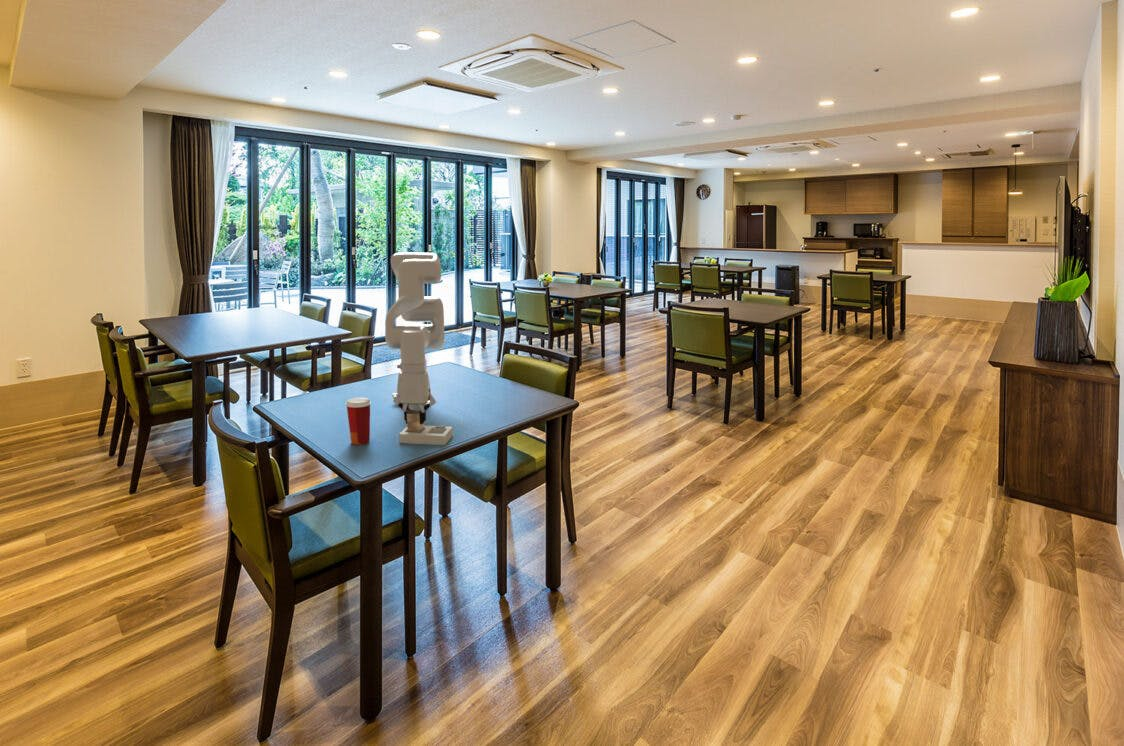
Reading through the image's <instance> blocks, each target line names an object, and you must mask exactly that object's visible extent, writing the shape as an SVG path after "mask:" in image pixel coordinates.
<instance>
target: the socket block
mask: <svg viewBox="0 0 1124 746" xmlns="http://www.w3.org/2000/svg"><path fill="white" fill-rule="evenodd" d="M453 436H454V427H453V426H446V425H439V424H438V425H425V424H423V429H422V430H421V431H420V432H410V431H408V430H407V426H406V427H405V428H404V429H403V430H402V431H400V432H399V433H398V443H399V444H410V445H411V444H414V445H415V444H416V445H434V446H445V445H446V444H448V442H449V441H450V439H451V438H452V437H453Z"/></svg>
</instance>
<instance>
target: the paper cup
mask: <svg viewBox="0 0 1124 746" xmlns="http://www.w3.org/2000/svg"><path fill="white" fill-rule="evenodd" d="M344 405H345V406H346V411H347V420H348V427H349V434H350V442H351V444H352V445H354V446H362V445H366V444H369V443H370V440H371V439H370V433H371V432H370V431H371V427H370V426H371V405H372V402H371V400H370V399H369V398H368V397H352V398H349V399H347V400H346V402H345V404H344Z"/></svg>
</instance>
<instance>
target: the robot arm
mask: <svg viewBox="0 0 1124 746" xmlns="http://www.w3.org/2000/svg"><path fill="white" fill-rule="evenodd" d="M390 266H391V268H392V269H391V270H392V271H393V274H394V276H395V278H396V280H397V282H398V283H397V285H398V287H397V288H398V289H397V290H398V293H397V294H398V299H397V300H396V301H395V302H394V303H393V304H391V305H392V306H391V307H390V308H389V309H388V311H387V314H386V316H385V322H384V325H385V326H384V327H385V328H384V329H385V330H384V332H385V333H384V334H385V336H384V337H385V342H386V346H387V348H390V349H393V350H399V353H400V360H401V361H400V363H397V364H396V367H397V369H400V371H399V372H398V375H397V385H396V386H397V387H396V393H392V399H393V400H392V402H393V403H394V404H396V405H397V406H398V407H399V408H400V409H401V411H402V412H403V415H404V416H403V418H404V419H403V420H404V421H405V424H406V425H407V410H408V409H409V408H411V407H415V408H420V409H421V412H420V424H423V425H424V423H426V421H427V410H428V409H429V408H430V407H433V406H434V405H435V404H436V403H437V400H436V399H435V397H434V396H433V395H432V392H431V382H430V378H429V374H428V371H427V359H426V350H439V349H442V348H443V347H444V345H445V314H444V313H445V309H444V304H443V300H442V299H441V298H439V297H437V296H425V289H424V287H425V286H424V284H429V285H430V284H433V285H434V284H438V283H440V282H441V278H442V266H441V260H440V257H439V255H438V254H437V253H434V252H398V253H397V252H396V253H393V254H392V255H391V256H390ZM400 316H401V318H402V320H403V321H405V322H409V323H414V322H415V323H419V322H421V323H427V322H430V323H431V324H406V325H395V321H396V320H397V319H398V318H399V317H400Z"/></svg>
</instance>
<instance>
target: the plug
mask: <svg viewBox="0 0 1124 746" xmlns="http://www.w3.org/2000/svg"><path fill="white" fill-rule="evenodd" d="M420 412H421V409H420V408H415V407H411V408H409V409H408V410H407V424H406V427H407V430H408V431H410V432H420V431H421V430H422V429H423V425H424V423H423V424H420Z"/></svg>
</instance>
